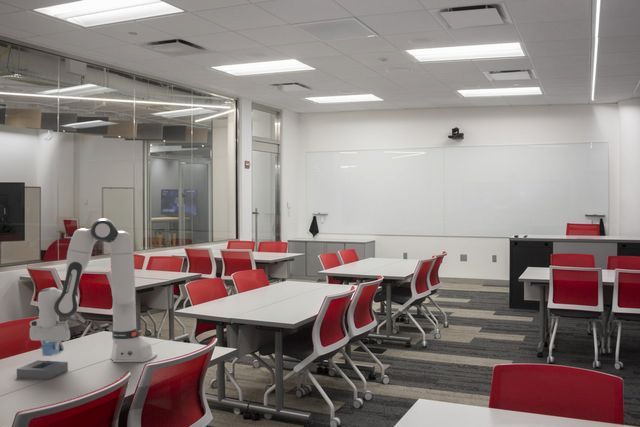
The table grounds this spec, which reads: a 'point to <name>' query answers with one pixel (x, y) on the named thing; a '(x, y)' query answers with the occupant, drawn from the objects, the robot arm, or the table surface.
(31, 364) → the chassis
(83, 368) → the table surface
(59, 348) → the electrical switch
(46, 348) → the servo
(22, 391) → the table surface
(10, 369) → the table surface
